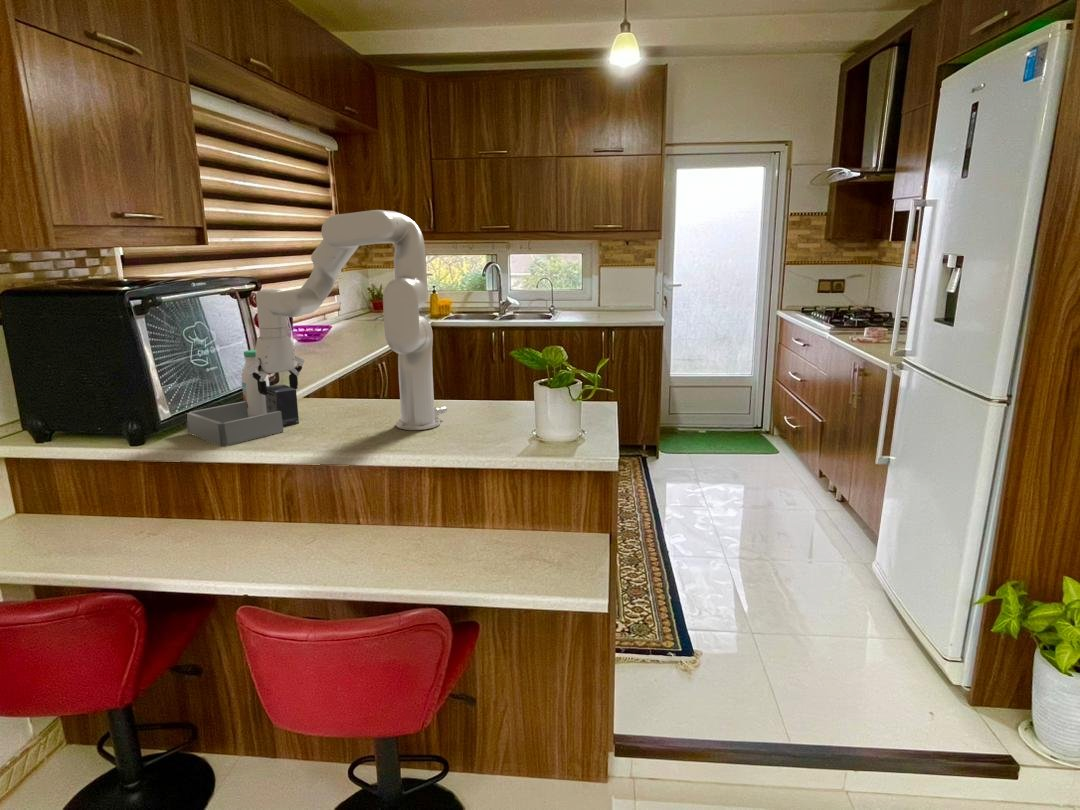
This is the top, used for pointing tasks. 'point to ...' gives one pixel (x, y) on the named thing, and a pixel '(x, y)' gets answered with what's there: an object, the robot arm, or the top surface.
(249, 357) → the milk bottle
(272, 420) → the tray
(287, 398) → the small box
